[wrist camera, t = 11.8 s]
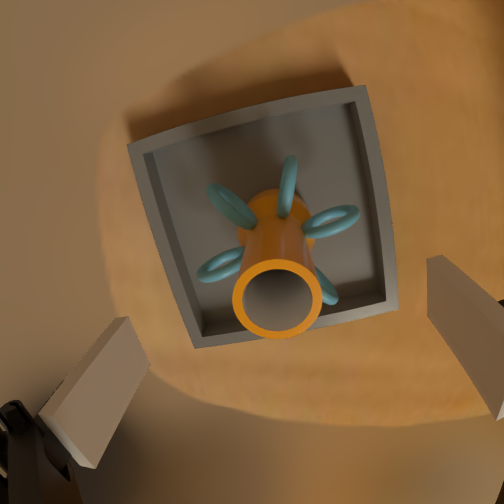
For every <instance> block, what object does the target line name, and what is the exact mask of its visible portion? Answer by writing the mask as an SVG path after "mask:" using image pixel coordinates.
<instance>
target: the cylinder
mask: <svg viewBox="0 0 504 504" xmlns="http://www.w3.org/2000/svg"><path fill="white" fill-rule="evenodd" d="M296 176H297V158H296V157H295V156H294V155H288V156H287V157H286V158H285V161H284V165H283V170H282V176H281V182H280V188H273V189H268V190H264V191H262V192H260V193H258V194H257V195H255V196H254V197H253V198H252V199H251V200H250V201H249V202H248V204H247V205H246V204H245V203H244V202H243V201H242V200H241V199H240V198H239V197H238V196H237V195H235V194H234V193H233V192H231V191H230V190H229V189H227V188H226V187H224V186H222V185H220V184H217V183H211V184H209V185H208V186H207V188H206V194H207V196H208V198H209V200H210V201H211V203H212V204H213V205H214V206H215V208H216V209H217V210H218V211H219V212H220V213H221V214H223V215H224V216H225V217H226V218H227V219H228V220H230V221H231V222H232V223H234V224H235V225H237V226H238V241H239V244H240V247H236V248H232V249H229V250H227V251H224V252H222V253H220V254H218V255H216V256H214V257H213V258H211V259H209V260H208V261H206V262H205V263H204V264H203V265H202V266H201V267H200V268H199V269H198V271H197V278H198V280H199V281H201V282H204V283H210V282H215V281H218V280H221V279H224V278H226V277H228V276H230V275H232V274H234V273H236V272H237V271H239V272H238V276H237V279H236V283H235V287H234V290H233V296H232V303H233V308H234V312H235V314H236V316H237V318H238V319H239V321H240V322H241V323H242V325H243V326H244V327H246V328H247V329H248V330H249V331H251V332H252V333H254V334H256V335H259V336H261V337H264V338H269V339H285V338H289V337H293V336H296V335H298V334H300V333H302V332H303V331H305V330H306V329H308V328H309V327H310V326H311V325H312V324H313V323H314V321H315V320H316V319H317V317H318V315H319V313H320V310H321V307H322V301H323V302H324V303H326V304H328V305H334V304H336V303H337V302H338V294H337V291H336V290H335V288H334V286H333V285H332V284H331V282H330V281H329V280H328V279H327V277H326V276H325V275H324V274H323V273H322V272H321V271H320V270H319V269H318V268H317V267H316V266H314V263H313V260H312V257H311V253H310V252H311V250H312V248H313V245H314V242H315V239H318V238H324V237H328V236H331V235H334V234H337V233H339V232H341V231H343V230H345V229H347V228H349V227H350V226H352V225H353V224H354V223H355V222H356V221H357V220H358V219H359V217H360V210H359V209H358V207H356V206H354V205H340V206H336V207H332V208H329V209H327V210H324V211H322V212H320V213H317V214H316V215H314V216H312V215H311V213H310V211H309V209H308V207H307V206H306V204H305V203H304V201H303V200H302V199H301V198H300V197H299V196H298V195H296V194H295V193H294V190H295V183H296ZM230 204H231V205H232V206H233V207H234V208H233V207H232V206H231V205H230ZM340 216H343V217H342V218H340V219H338V220H336V221H333V222H331V223H328V224H325V225H321V226H318V225H320V224H321V223H323V222H325V221H328V220H330V219H333V218H336V217H340ZM235 258H236V259H235ZM232 259H234V260H233V261H231V262H230V263H228V264H226V265H224V266H222V267H220V268H217V269H215V270H213V269H214V268H216V267H217V266H219V265H221V264H223V263H225V262H227V261H229V260H232Z"/></svg>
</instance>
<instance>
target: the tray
mask: <svg viewBox="0 0 504 504" xmlns="http://www.w3.org/2000/svg"><path fill="white" fill-rule="evenodd" d="M127 148H128V152H129V156H130V159H131V163H132V167H133V170H134V174H135V177H136V181H137V184H138V188H139V191H140V195H141V198H142V201H143V205H144V208H145V211H146V215H147V218H148V221H149V224H150V227H151V230H152V233H153V237H154V240H155V243H156V246H157V249H158V252H159V255H160V258H161V261H162V263H163V266H164V269H165V272H166V275H167V278H168V280H169V283H170V286H171V289H172V292H173V294H174V297H175V300H176V302H177V305H178V308H179V310H180V313H181V316H182V318H183V321H184V323H185V326H186V328H187V331H188V333H189V336H190V338H191V341H192V343H193V346H194V348H195V349H196V348H204V347H211V346H218V345H225V344H232V343H238V342H245V341H251V340H257V339H263V338H264V337H261V336H259V335H256V334H254V333H252V332H251V331H249V330H248V329H247V328H246V327H244V326H243V325H242V323H241V322H240V321H239V319H238V318H237V316H236V314H235V312H234V308H233V303H232V296H233V290H234V287H235V283H236V279H237V276H238V272H239V271H237V272H236V273H234V274H232V275H230V276H228V277H226V278H224V279H221V280H218V281H215V282H210V283H204V282H201V281H199V280H198V278H197V271H198V269H199V268H200V267H201V266H202V265H203V264H204V263H205V262H206V261H208V260H209V259H211V258H213V257H214V256H216V255H218V254H220V253H222V252H224V251H227V250H229V249H232V248H236V247H240V244H239V241H238V226H237V225H235V224H234V223H232V222H231V221H230V220H228V219H227V218H226V217H225V216H224V215H223V214H221V213H220V212H219V211H218V210H217V209H216V208H215V206H214V205H213V204H212V203H211V201H210V200H209V198H208V196H207V194H206V188H207V186H208V185H209V184H211V183H217V184H220V185H222V186H224V187H226V188H227V189H229V190H230V191H231V192H233V193H234V194H235V195H237V196H238V197H239V198H240V199H241V200H242V201H243V202H244V203H245V204H246V205H247V204H248V202H249V201H250V200H251V199H252V198H253V197H254V196H255V195H257V194H258V193H260V192H262V191H264V190H268V189H273V188H280V182H281V176H282V170H283V165H284V161H285V158H286V157H287V156H288V155H294V156H295V157H296V158H297V176H296V183H295V190H294V193H295V194H296V195H298V196H299V197H300V198H301V199H302V200H303V201H304V203H305V204H306V206H307V207H308V209H309V211H310V213H311V215H312V216H314V215H316V214H317V213H320V212H322V211H324V210H327V209H329V208H332V207H336V206H340V205H354V206H356V207H358V209H359V210H360V217H359V219H358V220H357V221H356V222H355V223H354V224H353V225H352V226H350V227H349V228H347V229H345V230H343V231H341V232H339V233H337V234H334V235H331V236H328V237H324V238H318V239H315V242H314V245H313V248H312V250H311V252H310V253H311V257H312V260H313V263H314V266H316V267H317V268H318V269H319V270H320V271H321V272H322V273H323V274H324V275H325V276H326V277H327V279H328V280H329V281H330V282H331V284H332V285H333V286H334V288H335V290H336V291H337V294H338V302H337V303H336V304H334V305H328V304H326V303H324V302H323V301H322V307H321V310H320V313H319V315H318V317H317V319H316V320H315V321H314V323H313V324H312V325H311V326H310V327H309V328H308V329H306V330H311V329H316V328H321V327H326V326H330V325H335V324H339V323H344V322H348V321H353V320H357V319H361V318H365V317H370V316H374V315H378V314H382V313H386V312H390V311H394V310H397V309H399V303H398V283H397V269H396V256H395V246H394V236H393V227H392V219H391V211H390V203H389V196H388V190H387V183H386V177H385V171H384V166H383V160H382V155H381V150H380V145H379V140H378V135H377V130H376V126H375V121H374V117H373V113H372V108H371V104H370V100H369V96H368V92H367V89H366V85H361V86H354V87H347V88H340V89H333V90H327V91H321V92H315V93H310V94H304V95H299V96H294V97H289V98H284V99H279V100H275V101H270V102H266V103H261V104H257V105H253V106H249V107H245V108H241V109H237V110H233V111H229V112H226V113H222V114H218V115H215V116H211V117H208V118H205V119H201V120H198V121H195V122H191V123H188V124H185V125H182V126H179V127H176V128H172V129H169V130H166V131H164V132H161V133H158V134H155V135H152V136H149V137H146V138H144V139H141V140H138V141H135V142H133V143H130V144H128V145H127ZM230 205H231V204H230ZM231 206H232V205H231ZM232 207H233V206H232ZM233 208H234V207H233ZM342 217H343V216H340V217H336V218H333V219H330V220H328V221H325V222H323V223H321V224H320V225H318V226H321V225H325V224H328V223H331V222H333V221H336V220H338V219H340V218H342ZM235 259H236V258H235ZM233 260H234V259H232V260H229V261H227V262H225V263H223V264H221V265H219V266H217V267H216V268H214V269H213V270H215V269H217V268H220V267H222V266H224V265H226V264H228V263H230V262H231V261H233ZM306 330H305V331H306Z"/></svg>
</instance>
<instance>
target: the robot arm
mask: <svg viewBox="0 0 504 504" xmlns="http://www.w3.org/2000/svg"><path fill="white" fill-rule="evenodd" d="M427 316H428V318H429V319H430V320H431V322H432V323H433V324H434V326H435V327H436V329H437V330H438V331H439V333H440V334H441V336H442V337H443V338H444V340H445V341H446V343H447V344H448V346H449V347H450V349H451V350H452V352H453V353H454V354H455V356H456V357H457V359H458V360H459V362H460V363H461V365H462V366H463V368H464V370H465V371H466V373H467V374H468V376H469V377H470V379H471V380H472V382H473V384H474V385H475V387H476V388H477V390H478V392H479V393H480V395H481V396H482V398H483V400H484V401H485V403H486V405H487V406H488V408H489V410H490V411H491V413H492V415H493V416H494V418H495V420H496V421H497V420H499V419H501V418H503V417H504V300H501V301H498V302H497V301H496V300H495V299H494V298H493V297H491V296H490V295H489V294H488V293H487V292H486V291H485V290H484V289H482V288H481V287H480V286H479V285H478V284H477V283H476V282H474V281H473V280H472V279H471V278H470V277H469V276H467V275H466V274H465V273H464V272H463V271H461V270H460V269H459V268H458V267H457V266H455V265H454V264H453V263H452V262H450V261H449V260H448V259H447V258H446V257H444V256H443V255H439V256H435V257H431V258H427ZM149 366H150V362H149V360H148V358H147V356H146V354H145V352H144V350H143V348H142V345H141V343H140V341H139V339H138V337H137V335H136V332H135V330H134V328H133V326H132V324H131V321H130V319H129V317H128V316H127V317H120V318H115V319H114V320H113V321H112V323H111V324H110V325H109V326H108V327H107V329H106V330H105V331H104V332H103V333H102V334H101V336H100V337H99V338H98V339H97V340H96V342H95V343H94V344H93V345H92V346H91V348H90V349H89V350H88V351H87V352H86V354H85V355H84V356H83V357H82V359H81V360H80V361H79V362H78V364H77V365H76V366H75V367H74V368H73V370H72V371H71V372H70V374H69V375H68V376H67V377H66V378H65V380H63V381H62V382H61V384H60V385H59V386H58V388H57V389H56V391H55V392H54V393H53V394H52V395H51V398H49V399H48V401H47V402H46V403H45V404H44V406H43V407H42V408H41V409H40V411H39V412H38V414H37V415H36V416H35V417H34V419H33V418H32V416H31V415H30V413H29V412H28V411H27V409H26V408H25V407H24V405H23V404H22V402H21V401H19V400H13V401H10V402H8V403H6V404H4V405H3V406H2V407H1V408H0V423H1V424H2V426H3V427H4V428H5V429H6V431H2V429H1V428H0V467H1V468H2V469H3V470H4V471H5V472H6V473H7V477H6V478H4V477H3V476H2V475H1V474H0V504H83V502H82V499H81V495H80V491H79V488H78V484H77V481H76V477H75V473H74V469H73V467H72V465H71V464H70V463H69V459H70V457H71V456H72V457H73V458H74V459H75V460H76V461H77V462H78V463H79V465H80V466H85V467H89V468H94V469H95V468H96V466H97V465H98V463H99V461H100V459H101V457H102V455H103V453H104V451H105V449H106V447H107V445H108V443H109V441H110V439H111V437H112V435H113V433H114V431H115V429H116V427H117V426H118V424H119V422H120V420H121V418H122V416H123V414H124V412H125V410H126V408H127V407H128V405H129V403H130V401H131V399H132V397H133V395H134V394H135V392H136V390H137V388H138V386H139V384H140V382H141V381H142V379H143V377H144V375H145V373H146V371H147V370H148V368H149ZM495 504H504V482H503V485H502V487H501V490H500V493H499V495H498V498H497V501H496V503H495Z"/></svg>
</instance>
